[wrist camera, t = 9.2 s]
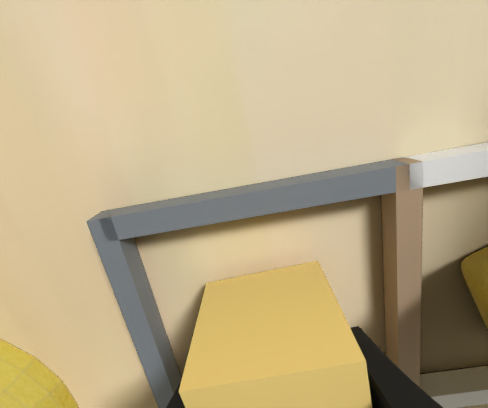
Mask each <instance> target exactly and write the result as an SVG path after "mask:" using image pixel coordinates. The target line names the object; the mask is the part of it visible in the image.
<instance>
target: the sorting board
mask: <svg viewBox="0 0 488 408" xmlns="http://www.w3.org/2000/svg"><path fill="white" fill-rule="evenodd" d="M482 177H488V142H486V143H481V144H475V145H470V146H464V147H458V148H453V149H447V150H442V151H436V152H431V153H425V154H419V155H414V156H408V157H403V158H397V159H392V160H386V161H380V162H375V163H369V164H364V165H358V166H352V167H347V168H341V169H336V170H330V171H325V172H319V173H313V174H308V175H302V176H297V177H291V178H285V179H280V180H274V181H269V182H263V183H258V184H252V185H246V186H241V187H235V188H230V189H224V190H218V191H213V192H207V193H202V194H196V195H191V196H185V197H179V198H174V199H168V200H163V201H157V202H151V203H146V204H140V205H135V206H129V207H124V208H118V209H112V210H107V211H102V212H100V213H99V214H97V215H95V216H94V217H92V218H91V219H89V220H88V221H86V222H87V224H88V227H89V229H90V232H91V235H92V237H93V240H94V242H95V245H96V248H97V250H98V253H99V255H100V258H101V260H102V263H103V266H104V268H105V271H106V273H107V276H108V278H109V281H110V284H111V286H112V289H113V291H114V294H115V297H116V299H117V302H118V304H119V307H120V309H121V312H122V315H123V317H124V320H125V322H126V325H127V327H128V330H129V333H130V335H131V338H132V340H133V343H134V346H135V348H136V351H137V353H138V356H139V358H140V361H141V364H142V366H143V369H144V371H145V374H146V376H147V379H148V382H149V384H150V387H151V389H152V392H153V395H154V397H155V400H156V402H157V405H158V407H159V408H166V407H167V405H168V403H169V401H170V399H171V398H172V396H173V394H174V392H175V390H176V388H177V387H178V385H179V383H180V381H181V376H180V373H179V370H178V367H177V364H176V361H175V358H174V355H173V352H172V349H171V346H170V343H169V340H168V337H167V334H166V331H165V328H164V325H163V322H162V319H161V316H160V314H159V311H158V308H157V305H156V302H155V299H154V296H153V293H152V290H151V287H150V284H149V281H148V278H147V275H146V272H145V269H144V266H143V263H142V260H141V257H140V254H139V251H138V248H137V245H136V242H135V239H134V237H139V236H145V235H151V234H157V233H162V232H168V231H174V230H180V229H186V228H191V227H197V226H203V225H209V224H215V223H220V222H226V221H232V220H238V219H244V218H250V217H255V216H261V215H267V214H273V213H279V212H284V211H290V210H296V209H302V208H308V207H314V206H319V205H325V204H331V203H337V202H343V201H348V200H354V199H360V198H366V197H372V196H377V195H381V207H382V238H383V270H384V301H385V333H386V356H387V357H388V358H389V359H390V360H391V361H392V362H393V363H394V364H395V365H396V366H397V367H398V368H399V369H400V370H401V371H402V372H404V373H405V374H406V375H407V376H408V377H409V378H410V379H411V380H412V381H413V382H414V383H415V384H417V385H418V386H419V387H420V388H421V389H422V390H423V391H424V392H426V393H427V394H428V395H429V396H430V397H431V398H433V399H434V400H435V401H436V402H437V403H438V404H440V405H441V406H442V407H443V408H460V407H468V406H476V405H484V404H488V366H481V367H473V368H465V369H458V370H450V371H443V372H435V373H428V374H420V336H421V277H422V218H423V188H424V187H430V186H436V185H441V184H447V183H453V182H459V181H465V180H471V179H476V178H482Z"/></svg>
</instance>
